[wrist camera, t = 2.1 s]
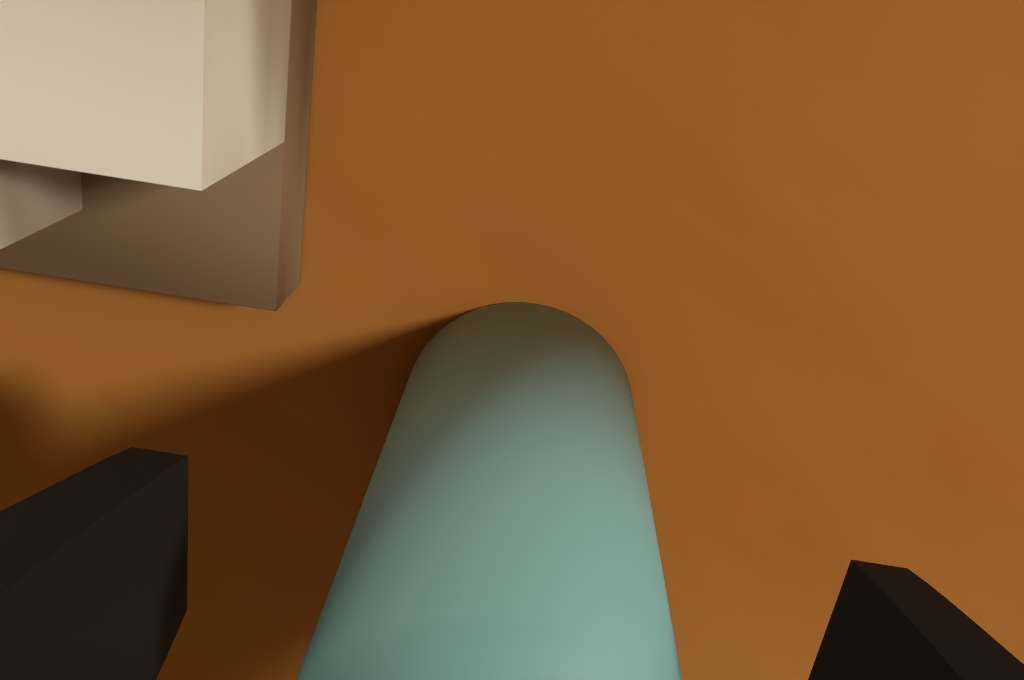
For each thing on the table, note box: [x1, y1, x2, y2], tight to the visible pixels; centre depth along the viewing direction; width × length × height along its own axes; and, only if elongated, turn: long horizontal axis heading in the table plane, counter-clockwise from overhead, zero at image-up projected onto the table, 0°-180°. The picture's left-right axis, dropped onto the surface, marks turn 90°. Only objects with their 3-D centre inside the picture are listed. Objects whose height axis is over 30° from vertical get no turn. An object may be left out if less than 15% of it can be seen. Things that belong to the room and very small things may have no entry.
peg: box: [296, 302, 682, 680], centre depth 11 cm, size 4×4×7 cm
